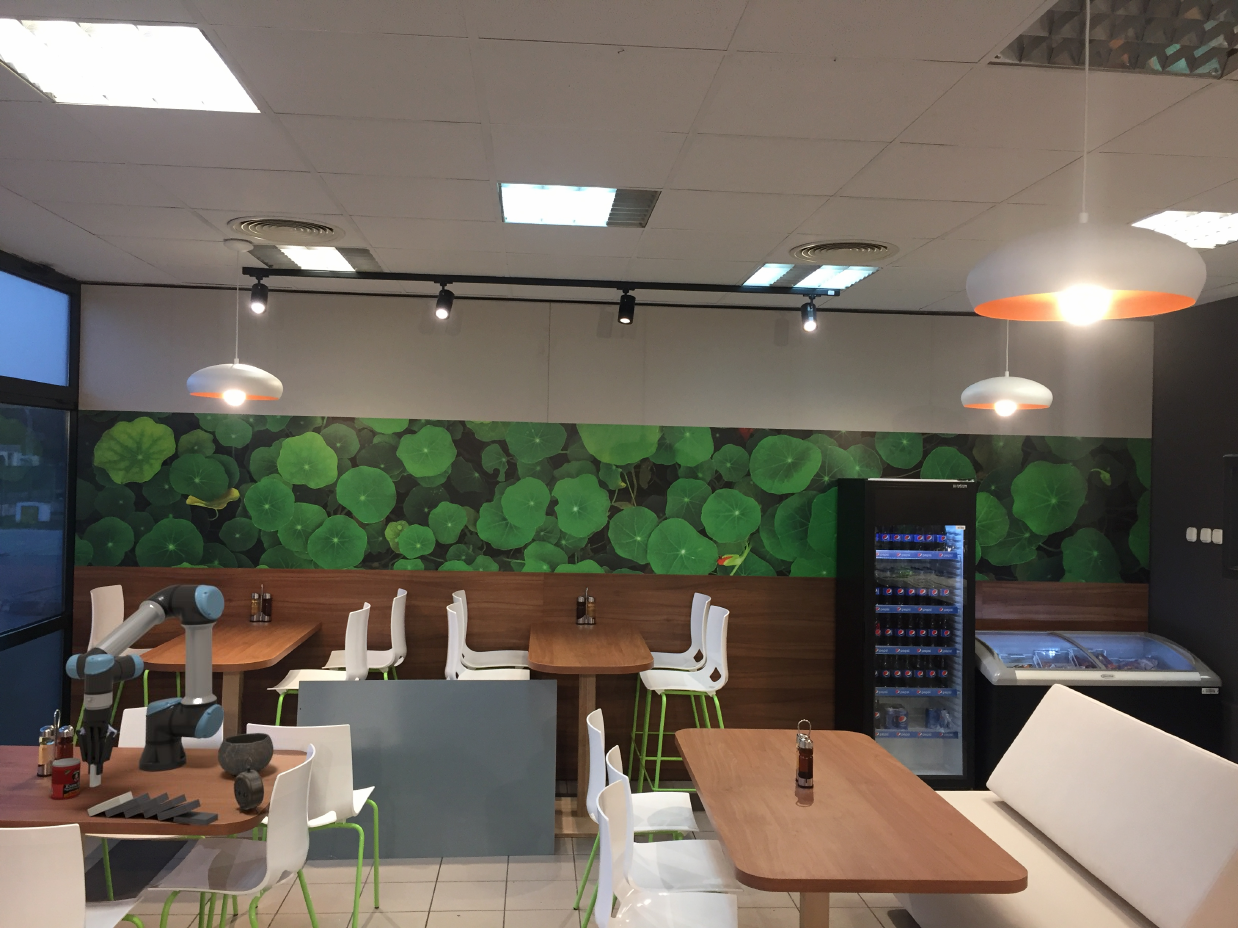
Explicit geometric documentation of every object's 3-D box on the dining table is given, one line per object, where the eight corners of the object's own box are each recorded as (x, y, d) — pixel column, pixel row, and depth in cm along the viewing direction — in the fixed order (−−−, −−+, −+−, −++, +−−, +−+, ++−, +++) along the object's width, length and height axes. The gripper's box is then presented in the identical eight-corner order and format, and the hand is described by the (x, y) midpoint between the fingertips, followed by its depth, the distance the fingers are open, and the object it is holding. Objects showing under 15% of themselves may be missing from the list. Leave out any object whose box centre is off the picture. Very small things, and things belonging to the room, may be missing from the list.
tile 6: (173, 816, 256) (205, 819, 254) (186, 810, 261) (218, 813, 259) (173, 823, 256) (205, 827, 254) (186, 817, 261) (217, 821, 259)
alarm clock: (264, 813, 264) (266, 758, 265) (247, 817, 260) (249, 762, 261) (246, 805, 271) (248, 752, 272) (229, 809, 267) (231, 755, 268)
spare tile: (87, 809, 260) (118, 796, 259) (100, 803, 265) (130, 791, 264) (89, 816, 260) (121, 803, 259) (102, 810, 265) (133, 798, 264)
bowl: (226, 785, 290) (228, 747, 290) (210, 772, 303) (211, 736, 304) (280, 775, 301) (281, 738, 302) (262, 763, 315) (263, 727, 316)
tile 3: (123, 811, 259) (155, 797, 258) (135, 805, 264) (166, 791, 263) (126, 818, 259) (158, 804, 258) (137, 812, 264) (169, 798, 263)
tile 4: (142, 811, 259) (171, 799, 256) (156, 805, 264) (184, 793, 261) (145, 818, 258) (173, 806, 256) (158, 812, 263) (186, 800, 261)
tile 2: (104, 810, 259) (136, 797, 258) (116, 804, 265) (148, 791, 264) (107, 817, 259) (138, 804, 258) (119, 811, 264) (150, 798, 263)
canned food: (65, 800, 273) (67, 765, 274) (44, 798, 275) (45, 763, 275) (85, 793, 281) (86, 758, 281) (64, 791, 282) (65, 756, 283)
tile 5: (156, 813, 257) (185, 804, 254) (171, 807, 262) (198, 798, 259) (158, 820, 257) (187, 812, 254) (172, 814, 262) (200, 806, 259)
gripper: (69, 708, 262) (66, 788, 261) (108, 710, 260) (105, 790, 259) (87, 702, 269) (84, 780, 268) (126, 704, 267) (123, 782, 266)
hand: (95, 785), depth 263 cm, fingers closed
